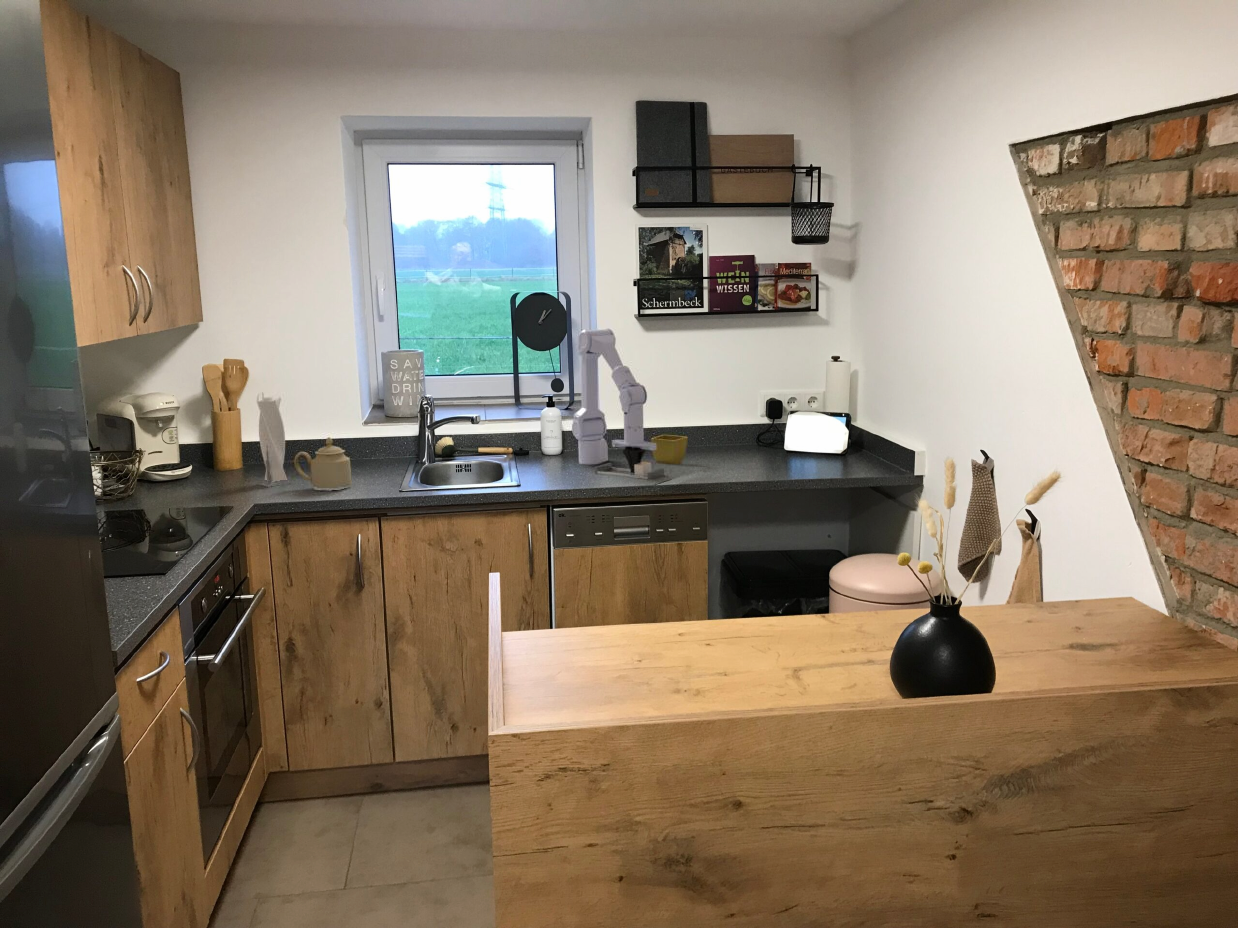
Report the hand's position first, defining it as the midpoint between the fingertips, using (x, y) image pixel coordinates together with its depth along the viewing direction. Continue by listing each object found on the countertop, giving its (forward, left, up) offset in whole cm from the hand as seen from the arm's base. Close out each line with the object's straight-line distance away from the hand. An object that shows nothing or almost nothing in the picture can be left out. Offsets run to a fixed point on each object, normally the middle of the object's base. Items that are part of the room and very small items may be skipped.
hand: (634, 472), depth 286 cm
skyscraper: (+58, -92, -2) cm, 109 cm away
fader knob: (0, +3, -1) cm, 3 cm away
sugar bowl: (+55, -72, -2) cm, 91 cm away
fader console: (0, -2, -2) cm, 3 cm away
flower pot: (-24, -3, -2) cm, 24 cm away
